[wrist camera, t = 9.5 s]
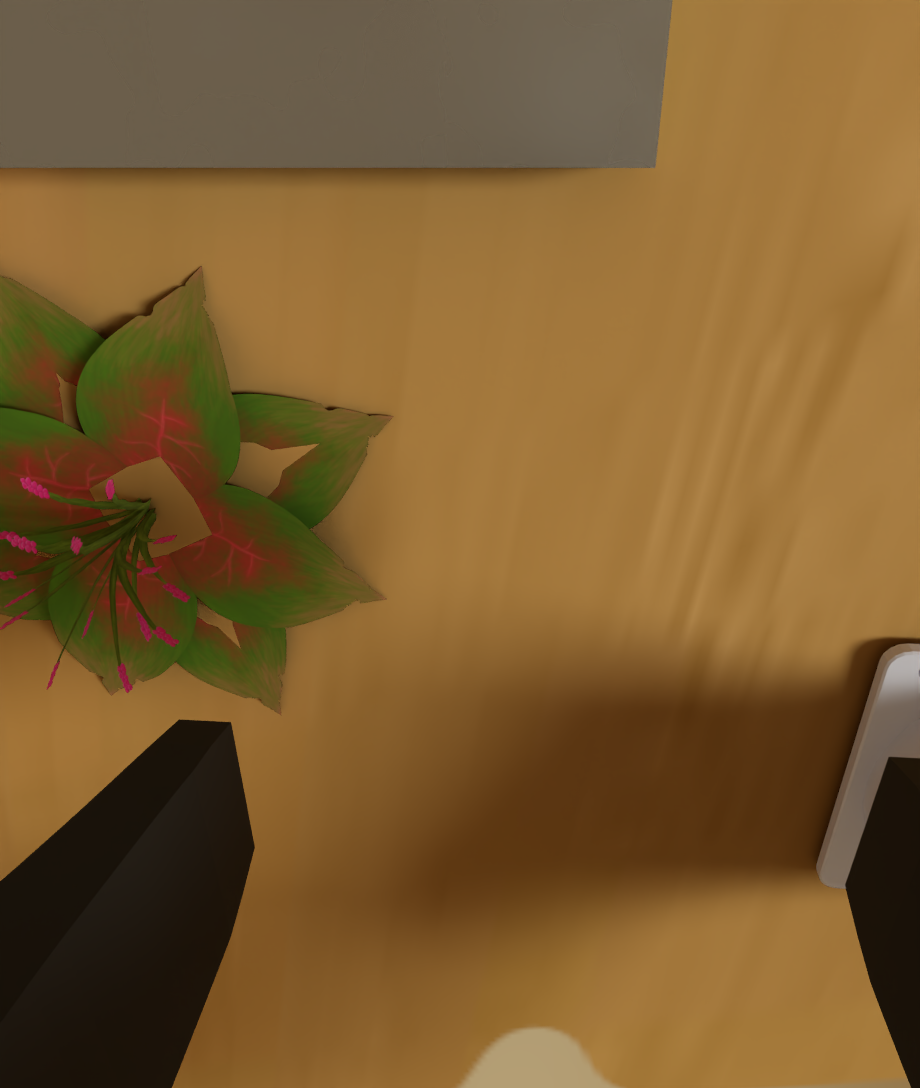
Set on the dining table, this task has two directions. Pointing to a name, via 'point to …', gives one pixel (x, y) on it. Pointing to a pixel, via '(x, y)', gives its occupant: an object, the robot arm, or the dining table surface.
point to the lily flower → (197, 461)
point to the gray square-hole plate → (331, 83)
